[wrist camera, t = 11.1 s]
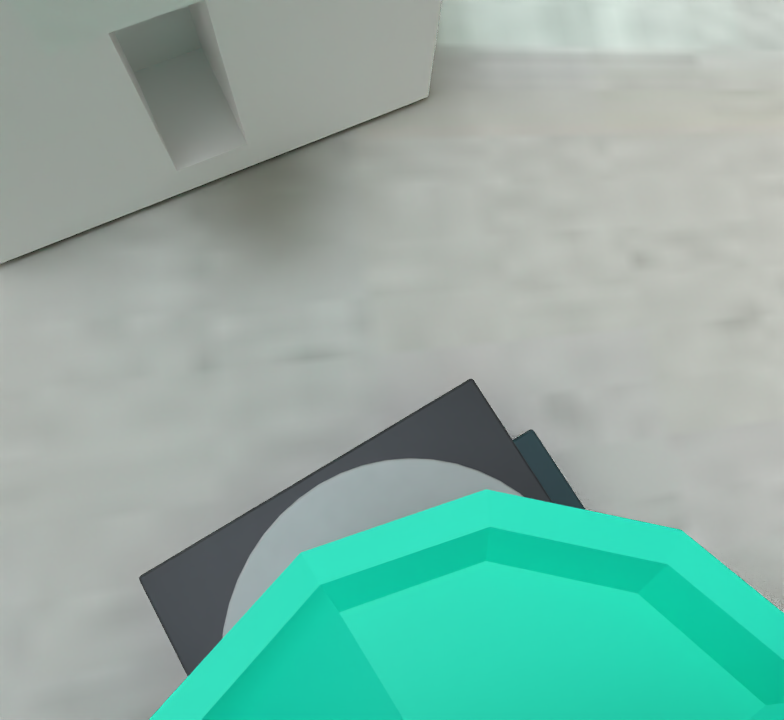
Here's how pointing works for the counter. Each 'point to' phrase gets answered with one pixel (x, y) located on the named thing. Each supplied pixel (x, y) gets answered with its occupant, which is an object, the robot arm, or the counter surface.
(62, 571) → the counter surface
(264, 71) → the toaster
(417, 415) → the scale
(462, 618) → the candle
